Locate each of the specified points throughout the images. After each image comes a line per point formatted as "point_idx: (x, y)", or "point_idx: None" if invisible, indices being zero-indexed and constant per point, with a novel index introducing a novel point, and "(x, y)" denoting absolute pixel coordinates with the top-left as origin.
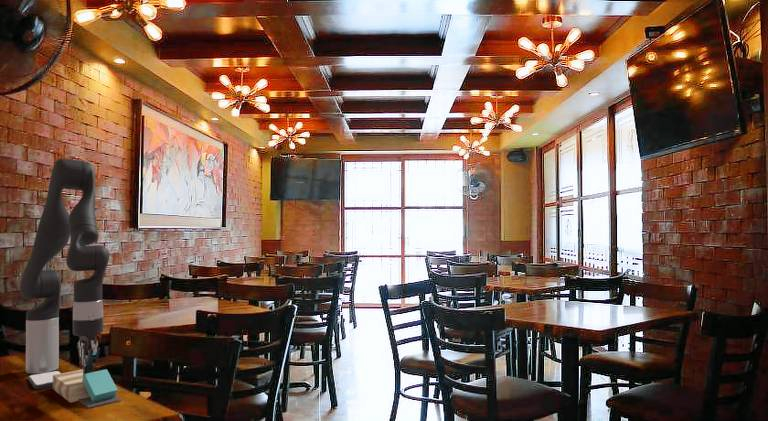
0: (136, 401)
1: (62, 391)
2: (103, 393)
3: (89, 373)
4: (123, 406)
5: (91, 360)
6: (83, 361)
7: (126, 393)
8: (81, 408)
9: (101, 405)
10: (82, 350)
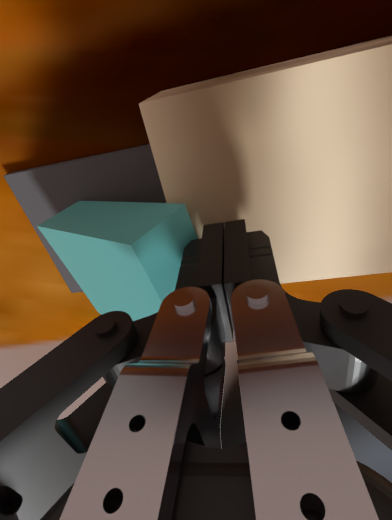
0: (50, 321)
1: (362, 44)
2: (62, 260)
3: (143, 276)
4: (3, 284)
5: (109, 383)
6: (234, 320)
7: None
8: (23, 142)
9: (37, 225)
10: (126, 508)
